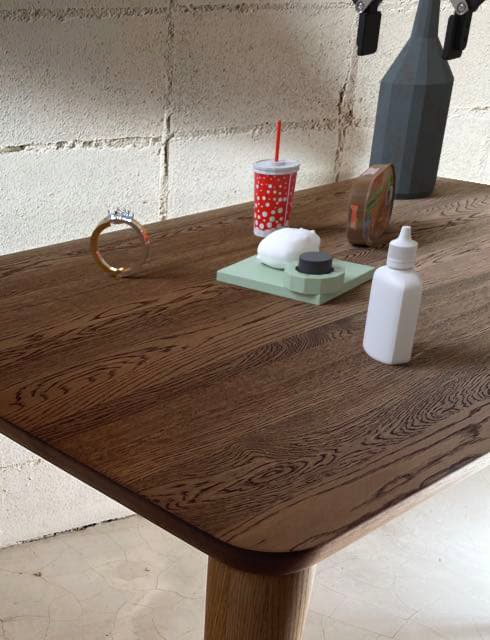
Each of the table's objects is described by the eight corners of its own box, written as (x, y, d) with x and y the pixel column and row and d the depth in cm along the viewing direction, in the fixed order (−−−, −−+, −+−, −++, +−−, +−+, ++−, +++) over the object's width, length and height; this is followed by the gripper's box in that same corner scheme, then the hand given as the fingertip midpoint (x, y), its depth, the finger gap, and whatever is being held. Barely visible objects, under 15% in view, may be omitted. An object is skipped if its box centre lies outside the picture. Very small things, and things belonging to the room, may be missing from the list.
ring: (151, 276, 106) (151, 207, 101) (142, 284, 103) (141, 214, 99) (98, 270, 108) (96, 204, 104) (88, 278, 106) (85, 210, 101)
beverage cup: (272, 224, 122) (281, 114, 114) (303, 234, 117) (314, 120, 109) (238, 232, 119) (245, 120, 111) (268, 242, 115) (277, 127, 107)
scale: (380, 278, 101) (384, 253, 100) (321, 309, 94) (324, 282, 92) (274, 255, 110) (276, 231, 108) (212, 282, 103) (213, 257, 101)
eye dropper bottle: (408, 345, 85) (431, 219, 78) (409, 368, 81) (433, 237, 74) (362, 342, 86) (381, 217, 80) (360, 364, 82) (380, 235, 75)
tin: (363, 254, 109) (372, 183, 104) (338, 251, 111) (346, 181, 106) (392, 223, 120) (402, 157, 115) (369, 221, 121) (378, 156, 116)
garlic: (285, 249, 108) (288, 218, 106) (332, 259, 104) (336, 227, 102) (246, 265, 104) (248, 233, 102) (294, 276, 100) (297, 243, 98)
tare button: (337, 271, 96) (339, 255, 95) (319, 279, 94) (321, 263, 93) (309, 264, 99) (310, 249, 98) (291, 273, 97) (292, 257, 96)
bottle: (353, 194, 133) (384, -41, 116) (381, 180, 139) (414, -45, 122) (419, 202, 128) (461, -43, 111) (445, 188, 134) (489, -47, 117)
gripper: (547, -156, 80) (503, 56, 90) (375, -140, 90) (353, 49, 100) (512, -158, 76) (471, 65, 85) (336, -140, 86) (317, 57, 96)
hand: (407, 56), depth 93 cm, fingers open, 9 cm apart
